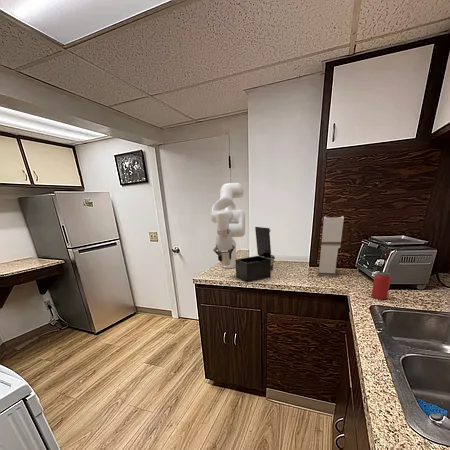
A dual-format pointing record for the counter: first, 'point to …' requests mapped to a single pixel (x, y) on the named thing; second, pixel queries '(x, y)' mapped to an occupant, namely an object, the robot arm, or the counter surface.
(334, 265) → the stepped grey pillar
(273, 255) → the food container
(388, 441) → the counter surface
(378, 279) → the beer can
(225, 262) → the cup
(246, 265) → the black lidded box
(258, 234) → the black box lid
